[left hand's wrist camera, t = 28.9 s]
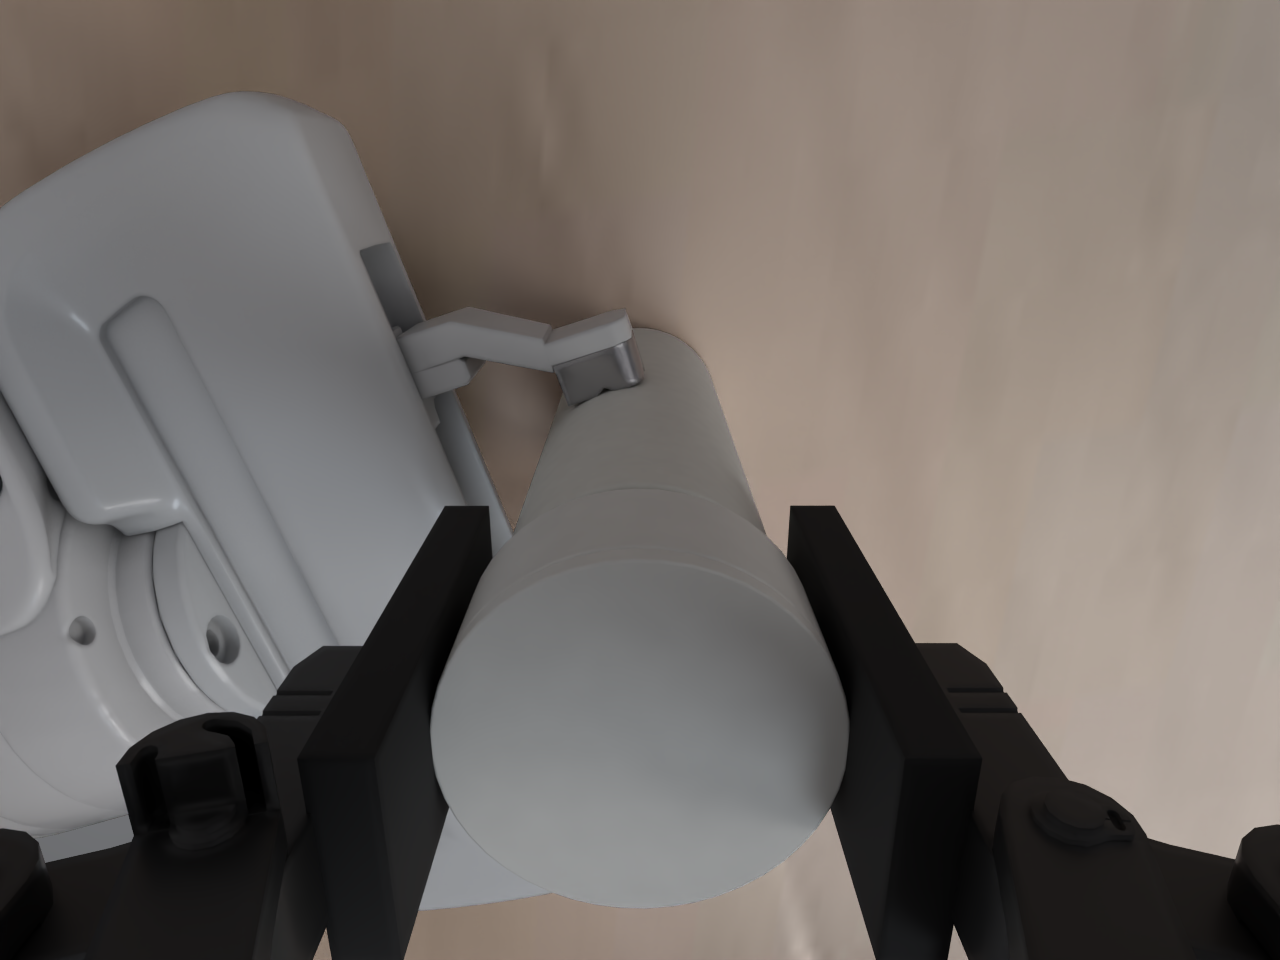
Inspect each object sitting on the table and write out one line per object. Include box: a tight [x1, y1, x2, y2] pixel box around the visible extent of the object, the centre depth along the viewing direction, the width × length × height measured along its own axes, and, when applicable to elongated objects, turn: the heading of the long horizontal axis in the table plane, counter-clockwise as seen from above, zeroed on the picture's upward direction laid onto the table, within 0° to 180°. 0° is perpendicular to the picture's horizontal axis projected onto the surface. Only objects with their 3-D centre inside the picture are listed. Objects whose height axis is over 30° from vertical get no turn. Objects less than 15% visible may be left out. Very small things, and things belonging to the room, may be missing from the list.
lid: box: [430, 489, 850, 908], centre depth 11 cm, size 5×5×2 cm
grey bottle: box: [512, 328, 767, 537], centre depth 18 cm, size 5×5×16 cm
